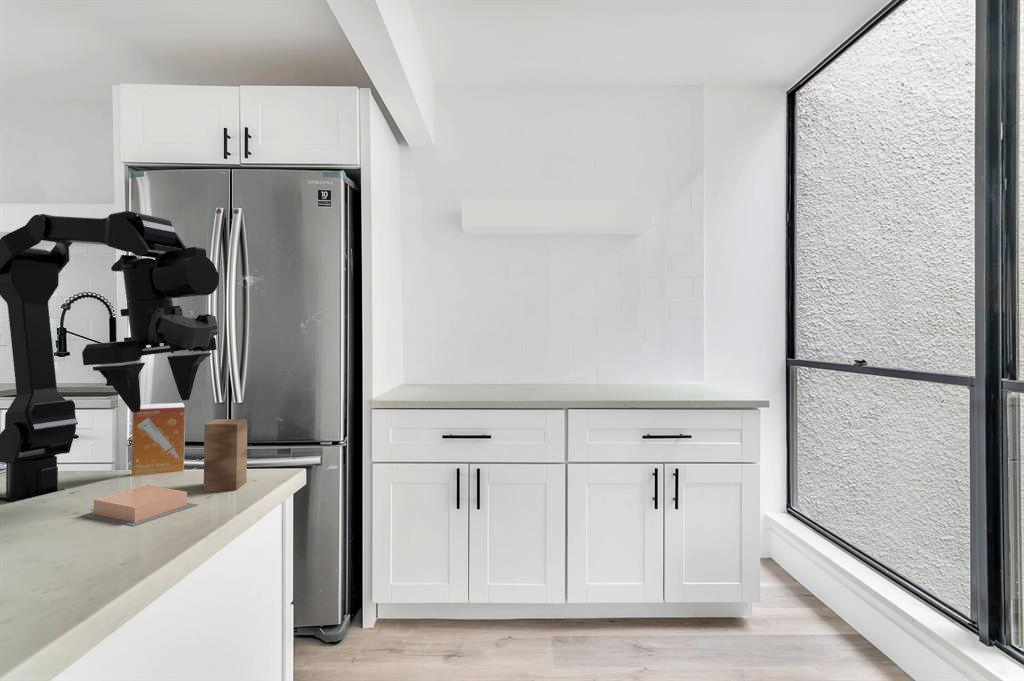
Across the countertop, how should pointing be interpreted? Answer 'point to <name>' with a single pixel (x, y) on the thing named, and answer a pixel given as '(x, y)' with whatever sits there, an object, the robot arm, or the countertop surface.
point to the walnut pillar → (225, 454)
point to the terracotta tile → (140, 503)
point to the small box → (158, 439)
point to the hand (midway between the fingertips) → (162, 405)
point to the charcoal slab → (114, 520)
